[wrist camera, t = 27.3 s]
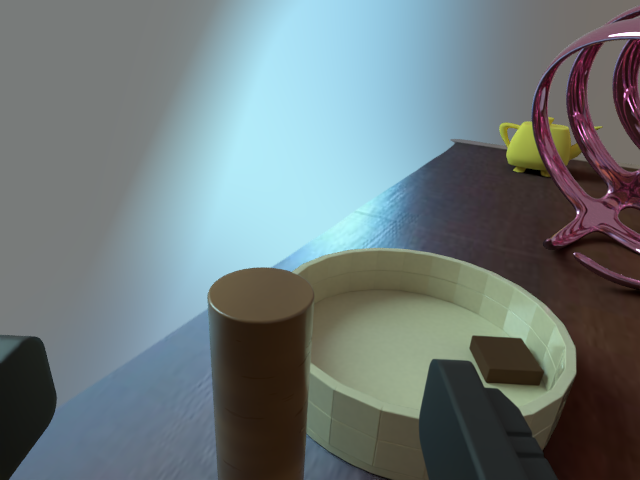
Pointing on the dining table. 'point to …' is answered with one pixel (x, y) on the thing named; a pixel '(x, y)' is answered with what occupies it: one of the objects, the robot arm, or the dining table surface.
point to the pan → (415, 349)
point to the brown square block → (505, 360)
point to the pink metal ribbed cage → (595, 141)
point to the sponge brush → (260, 372)
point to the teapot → (525, 149)
